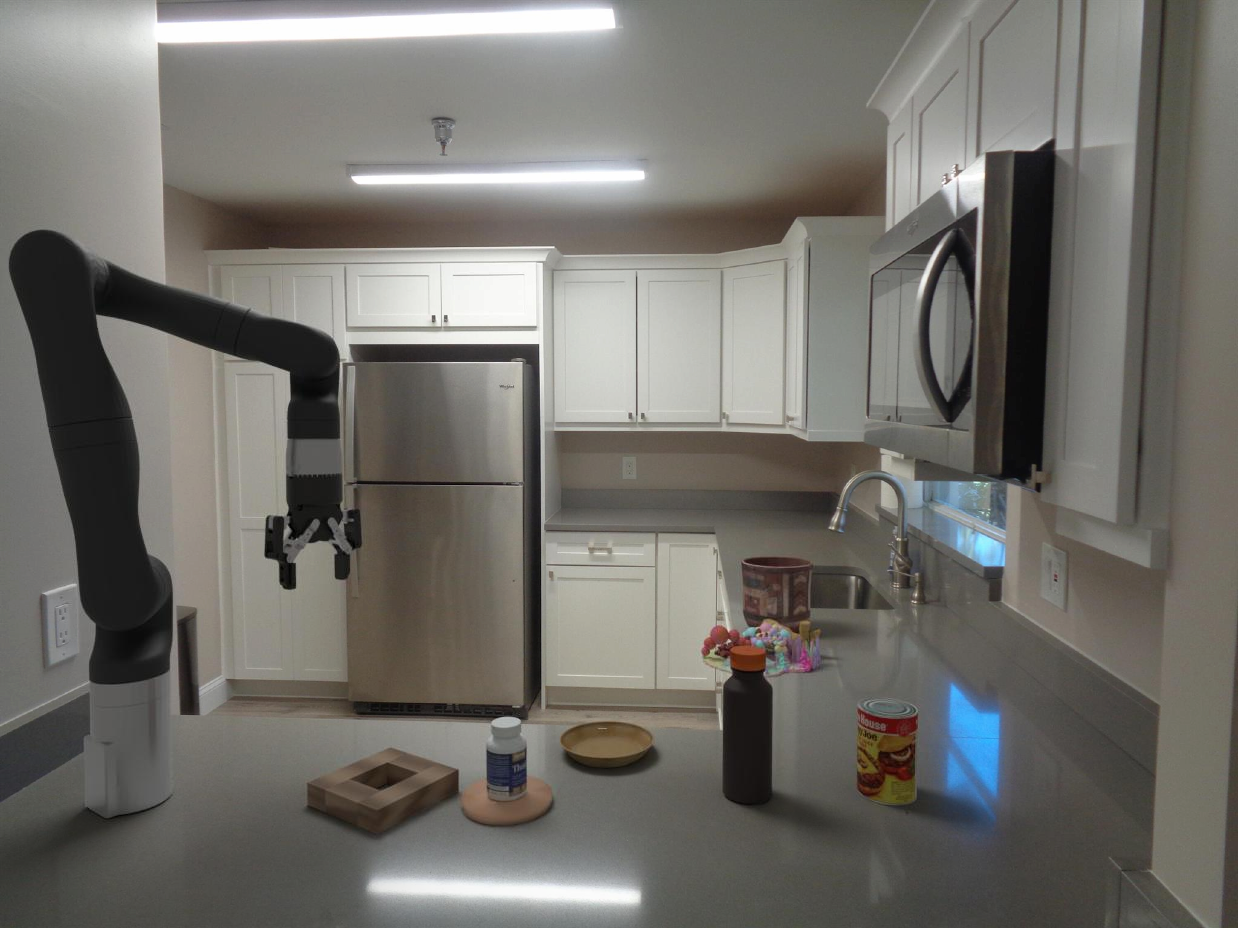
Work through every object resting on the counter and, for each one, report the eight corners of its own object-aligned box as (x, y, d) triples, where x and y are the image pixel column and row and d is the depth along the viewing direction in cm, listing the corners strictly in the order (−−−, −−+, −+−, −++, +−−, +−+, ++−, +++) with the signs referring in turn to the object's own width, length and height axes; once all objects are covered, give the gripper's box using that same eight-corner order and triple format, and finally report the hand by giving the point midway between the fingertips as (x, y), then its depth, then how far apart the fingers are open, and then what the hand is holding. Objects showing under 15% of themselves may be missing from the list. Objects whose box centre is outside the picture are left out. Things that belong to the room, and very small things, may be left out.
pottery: (797, 644, 183) (798, 569, 182) (730, 634, 192) (730, 562, 192) (821, 629, 197) (822, 559, 197) (757, 620, 207) (758, 553, 206)
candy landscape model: (741, 641, 186) (741, 603, 186) (836, 658, 173) (836, 617, 172) (688, 666, 166) (688, 624, 166) (791, 687, 152) (791, 641, 152)
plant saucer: (542, 765, 116) (542, 748, 116) (582, 730, 130) (582, 715, 129) (634, 781, 110) (634, 763, 110) (666, 743, 124) (666, 727, 124)
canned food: (848, 780, 110) (849, 697, 110) (901, 778, 111) (902, 696, 110) (870, 806, 102) (871, 717, 102) (927, 804, 103) (928, 716, 103)
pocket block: (377, 834, 95) (377, 810, 95) (307, 804, 103) (307, 782, 103) (458, 790, 107) (458, 769, 107) (390, 767, 115) (390, 747, 114)
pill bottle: (518, 804, 100) (518, 730, 100) (480, 800, 102) (479, 727, 101) (532, 786, 106) (532, 716, 105) (495, 782, 107) (495, 713, 106)
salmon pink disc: (511, 834, 95) (511, 824, 95) (442, 808, 102) (442, 799, 102) (569, 796, 105) (569, 787, 105) (503, 775, 112) (503, 767, 112)
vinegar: (775, 786, 108) (776, 645, 108) (768, 808, 102) (769, 659, 101) (727, 779, 110) (728, 641, 110) (717, 800, 104) (718, 654, 103)
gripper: (339, 468, 118) (341, 574, 118) (252, 472, 106) (253, 589, 106) (372, 469, 114) (373, 579, 114) (284, 473, 102) (286, 595, 102)
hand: (315, 584), depth 110 cm, fingers open, 8 cm apart
